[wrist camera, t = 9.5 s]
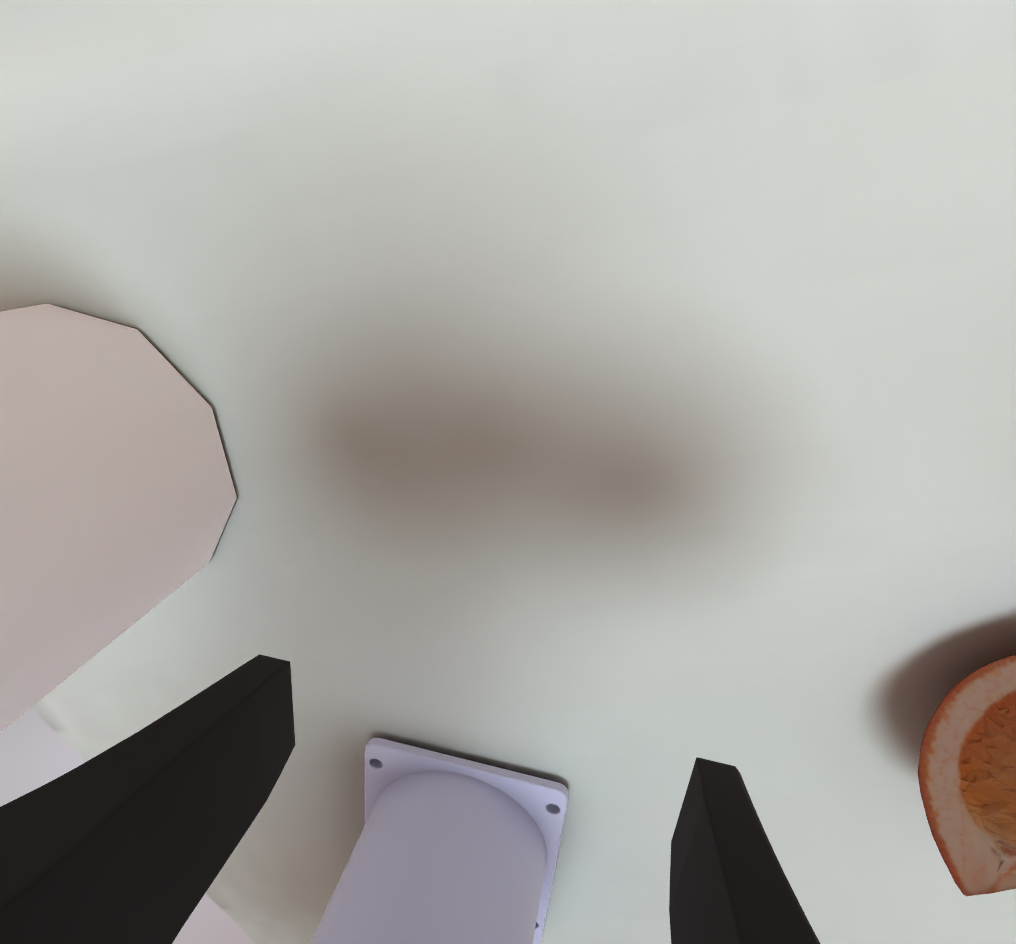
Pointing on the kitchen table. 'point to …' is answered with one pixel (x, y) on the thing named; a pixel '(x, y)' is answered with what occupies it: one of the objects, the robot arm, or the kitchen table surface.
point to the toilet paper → (94, 492)
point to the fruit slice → (974, 779)
